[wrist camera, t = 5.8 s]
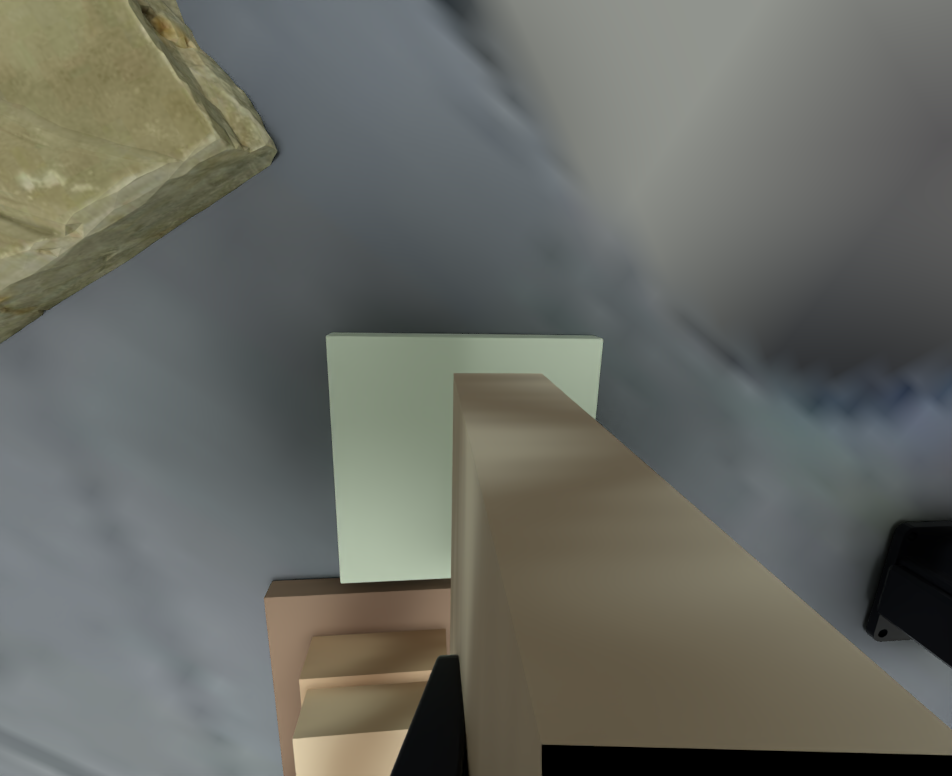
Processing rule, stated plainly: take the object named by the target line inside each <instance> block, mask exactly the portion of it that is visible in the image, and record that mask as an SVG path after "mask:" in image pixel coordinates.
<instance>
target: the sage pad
mask: <svg viewBox="0 0 952 776" xmlns="http://www.w3.org/2000/svg"><path fill="white" fill-rule="evenodd" d="M602 347H603V339H602V338H599V337H596V336H594V335H509V334H423V333H337V332H332V333H330V334H328V335H327V336H326V348H327V365H328V382H329V398H330V415H331V432H332V449H333V465H334V482H335V499H336V515H337V532H338V549H339V566H340V582H341V583H360V582H381V581H401V580H422V579H443V578H451V530H452V453H453V377H454V373H542V374H543V375H544V376H545V377H547V378H548V379H549V380H550V381H551V382H552V383H553V384H555V385H556V386H557V387H558V388H559V389H560V390H562V391H563V392H564V393H565V394H566V395H567V396H568V397H570V398H571V399H572V400H573V401H574V402H575V403H576V404H578V405H579V406H580V407H581V408H582V409H583V410H585V411H586V412H587V413H588V414H589V415H590V416H591V417H593V418H594V419H596V409H597V398H598V388H599V378H600V368H601V357H602Z"/></svg>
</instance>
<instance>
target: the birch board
mask: <svg viewBox="0 0 952 776" xmlns="http://www.w3.org/2000/svg"><path fill="white" fill-rule="evenodd" d="M452 654H457V655H459V663H460V674H461V684H462V695H463V705H464V716H465V765H464V776H579V773H578V769H577V764H576V760H575V755H574V750H573V746H572V745H582V746H594V753H593V762H592V770H591V776H952V730H951V729H950V728H949V727H948V726H947V725H946V724H944V723H943V722H942V721H941V720H940V719H939V718H938V717H936V716H935V715H934V714H933V713H932V712H931V711H929V710H928V709H927V708H926V707H925V706H924V705H923V704H921V703H920V702H919V701H918V700H917V699H916V698H915V697H913V696H912V695H911V694H910V693H909V692H908V691H906V690H905V689H904V688H903V687H902V686H901V685H900V684H898V683H897V682H896V681H895V680H894V679H893V678H892V677H890V676H889V675H888V674H887V673H886V672H885V671H883V670H882V669H881V668H880V667H879V666H878V665H877V664H875V663H874V662H873V661H872V660H871V659H870V658H869V657H867V656H866V655H865V654H864V653H863V652H862V651H860V650H859V649H858V648H857V647H856V646H855V645H854V644H852V643H851V642H850V641H849V640H848V639H847V638H846V637H844V636H843V635H842V634H841V633H840V632H839V631H837V630H836V629H835V628H834V627H833V626H832V625H831V624H829V623H828V622H827V621H826V620H825V619H824V618H823V617H821V616H820V615H819V614H818V613H817V612H816V611H814V610H813V609H812V608H811V607H810V606H809V605H808V604H806V603H805V602H804V601H803V600H802V599H801V598H800V597H798V596H797V595H796V594H795V593H794V592H793V591H791V590H790V589H789V588H788V587H787V586H786V585H785V584H783V583H782V582H781V581H780V580H779V579H778V578H777V577H775V576H774V575H773V574H772V573H771V572H770V571H768V570H767V569H766V568H765V567H764V566H763V565H762V564H760V563H759V562H758V561H757V560H756V559H755V558H754V557H752V556H751V555H750V554H749V553H748V552H747V551H745V550H744V549H743V548H742V547H741V546H740V545H739V544H737V543H736V542H735V541H734V540H733V539H732V538H731V537H729V536H728V535H727V534H726V533H725V532H724V531H722V530H721V529H720V528H719V527H718V526H717V525H716V524H714V523H713V522H712V521H711V520H710V519H709V518H708V517H706V516H705V515H704V514H703V513H702V512H701V511H699V510H698V509H697V508H696V507H695V506H694V505H693V504H691V503H690V502H689V501H688V500H687V499H686V498H685V497H683V496H682V495H681V494H680V493H679V492H678V491H676V490H675V489H674V488H673V487H672V486H671V485H670V484H668V483H667V482H666V481H665V480H664V479H663V478H662V477H660V476H659V475H658V474H657V473H656V472H655V471H654V470H652V469H651V468H650V467H649V466H648V465H647V464H645V463H644V462H643V461H642V460H641V459H640V458H639V457H637V456H636V455H635V454H634V453H633V452H632V451H631V450H629V449H628V448H627V447H626V446H625V445H624V444H622V443H621V442H620V441H619V440H618V439H617V438H616V437H614V436H613V435H612V434H611V433H610V432H609V431H608V430H606V429H605V428H604V427H603V426H602V425H601V424H599V423H598V422H597V421H596V420H595V419H594V418H593V417H591V416H590V415H589V414H588V413H587V412H586V411H585V410H583V409H582V408H581V407H580V406H579V405H578V404H576V403H575V402H574V401H573V400H572V399H571V398H570V397H568V396H567V395H566V394H565V393H564V392H563V391H562V390H560V389H559V388H558V387H557V386H556V385H555V384H553V383H552V382H551V381H550V380H549V379H548V378H547V377H545V376H544V375H543V374H542V373H454V377H453V453H452V530H451V606H450V655H452Z"/></svg>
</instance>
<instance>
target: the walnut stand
mask: <svg viewBox="0 0 952 776" xmlns="http://www.w3.org/2000/svg"><path fill="white" fill-rule="evenodd" d="M264 603H265V612H266V621H267V630H268V639H269V648H270V657H271V666H272V675H273V684H274V693H275V702H276V711H277V720H278V729H279V738H280V747H281V756H282V765H283V773H284V776H296V769H295V760H294V750H293V740H292V739H293V735H294V732H295V728H296V725H297V722H298V718H299V715H300V711H301V697H300V686H299V678H300V675H301V672H302V668H303V665H304V662H305V659H306V656H307V653H308V650H309V647H310V643H311V640H312V637H316V636H332V635H349V634H366V633H382V632H399V631H415V630H432V629H446V648H447V655H450V606H451V578H443V579H422V580H401V581H381V582H360V583H341V582H340V578H327V579H305V580H284V581H272V583H271V585H270V587H269V589H268V591H267V593H266V595H265V597H264Z"/></svg>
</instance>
